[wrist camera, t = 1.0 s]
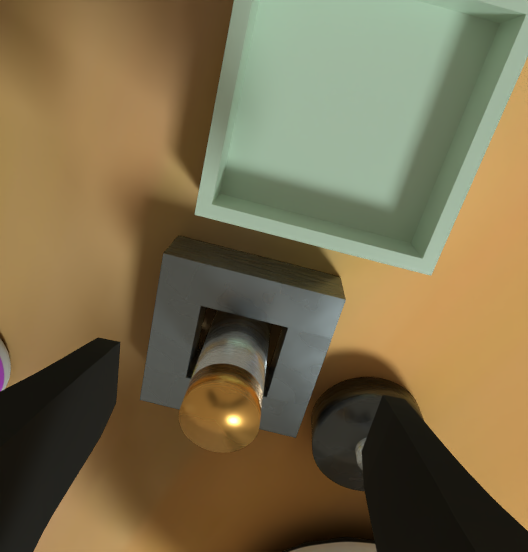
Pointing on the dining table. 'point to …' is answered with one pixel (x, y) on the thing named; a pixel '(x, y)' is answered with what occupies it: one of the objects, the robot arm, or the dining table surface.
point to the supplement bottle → (4, 366)
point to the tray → (359, 119)
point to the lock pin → (227, 385)
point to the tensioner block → (288, 353)
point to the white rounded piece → (336, 546)
